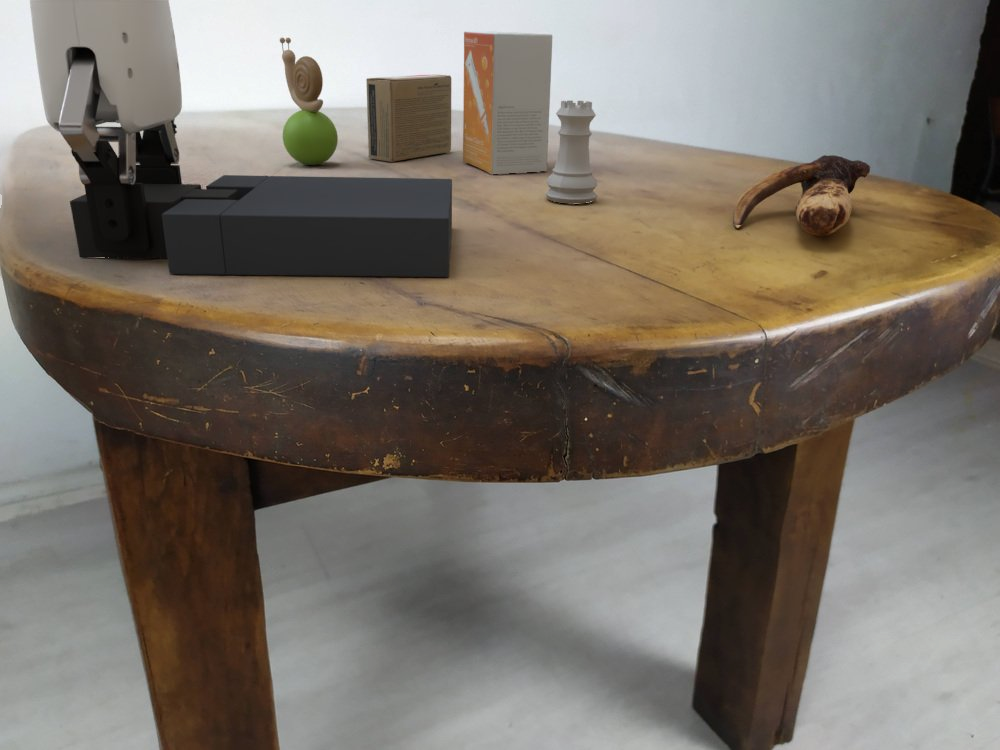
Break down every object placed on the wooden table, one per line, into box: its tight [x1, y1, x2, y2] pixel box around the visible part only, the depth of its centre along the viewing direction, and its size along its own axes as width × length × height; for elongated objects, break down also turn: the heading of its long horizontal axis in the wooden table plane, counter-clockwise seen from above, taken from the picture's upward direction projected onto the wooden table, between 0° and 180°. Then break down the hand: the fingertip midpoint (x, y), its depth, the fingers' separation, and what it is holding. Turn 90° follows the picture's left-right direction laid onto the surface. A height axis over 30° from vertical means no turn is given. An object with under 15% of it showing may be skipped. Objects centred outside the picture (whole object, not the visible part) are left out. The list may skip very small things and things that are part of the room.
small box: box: [462, 31, 553, 176], centre depth 84 cm, size 8×6×13 cm
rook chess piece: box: [545, 99, 598, 203], centre depth 69 cm, size 4×4×8 cm
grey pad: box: [162, 174, 453, 278], centre depth 53 cm, size 16×13×4 cm
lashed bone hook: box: [732, 154, 871, 237], centre depth 64 cm, size 9×5×18 cm
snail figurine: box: [279, 37, 339, 166], centre depth 83 cm, size 5×6×12 cm
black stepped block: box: [69, 183, 239, 260], centre depth 53 cm, size 9×6×4 cm
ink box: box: [365, 74, 452, 163], centre depth 91 cm, size 10×4×8 cm, turn 144°
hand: (143, 234), depth 53 cm, fingers closed on black stepped block, 6 cm apart
